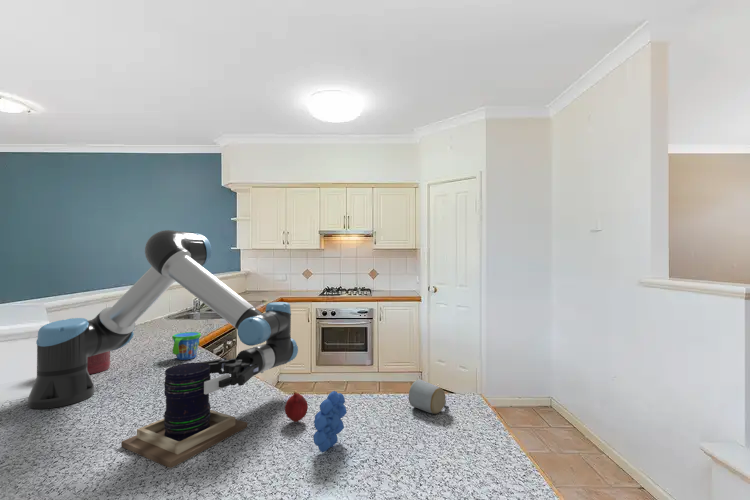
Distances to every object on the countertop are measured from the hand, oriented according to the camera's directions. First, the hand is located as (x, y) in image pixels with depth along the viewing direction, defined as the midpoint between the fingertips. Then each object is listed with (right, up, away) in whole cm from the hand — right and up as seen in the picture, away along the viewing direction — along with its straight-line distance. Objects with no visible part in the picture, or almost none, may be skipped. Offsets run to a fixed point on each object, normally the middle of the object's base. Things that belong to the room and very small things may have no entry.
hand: (186, 383), depth 86 cm
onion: (+24, -13, +8) cm, 29 cm away
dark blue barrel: (0, -12, +1) cm, 12 cm away
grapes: (+34, -13, -4) cm, 37 cm away
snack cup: (-35, -15, +68) cm, 78 cm away
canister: (-64, -14, +51) cm, 83 cm away
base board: (0, -13, +1) cm, 13 cm away
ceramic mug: (+60, -13, +16) cm, 64 cm away
